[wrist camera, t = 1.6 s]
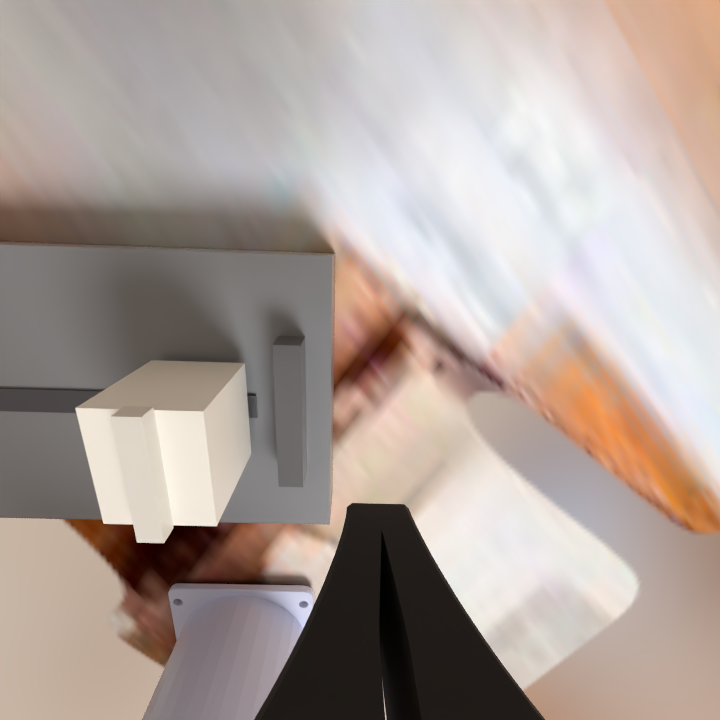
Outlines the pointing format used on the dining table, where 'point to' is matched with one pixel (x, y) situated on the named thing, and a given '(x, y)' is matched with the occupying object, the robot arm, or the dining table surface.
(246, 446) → the fader knob
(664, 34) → the dining table surface
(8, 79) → the dining table surface
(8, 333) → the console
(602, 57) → the dining table surface
